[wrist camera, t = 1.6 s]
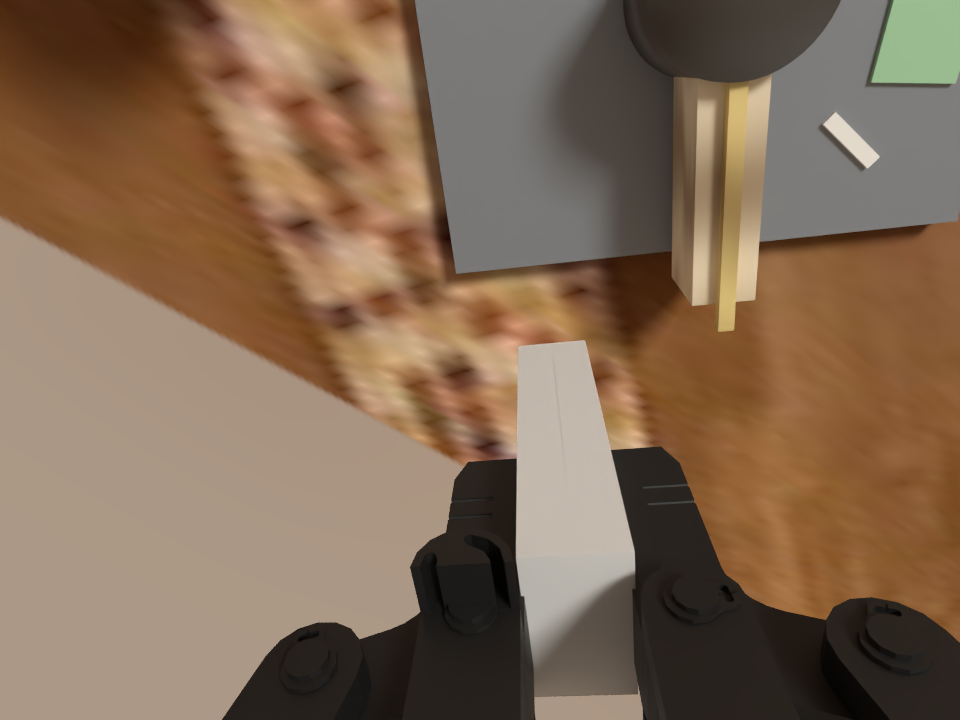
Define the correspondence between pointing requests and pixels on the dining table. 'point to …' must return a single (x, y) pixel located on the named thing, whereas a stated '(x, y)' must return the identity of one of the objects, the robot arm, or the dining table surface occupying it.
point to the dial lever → (721, 127)
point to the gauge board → (649, 128)
